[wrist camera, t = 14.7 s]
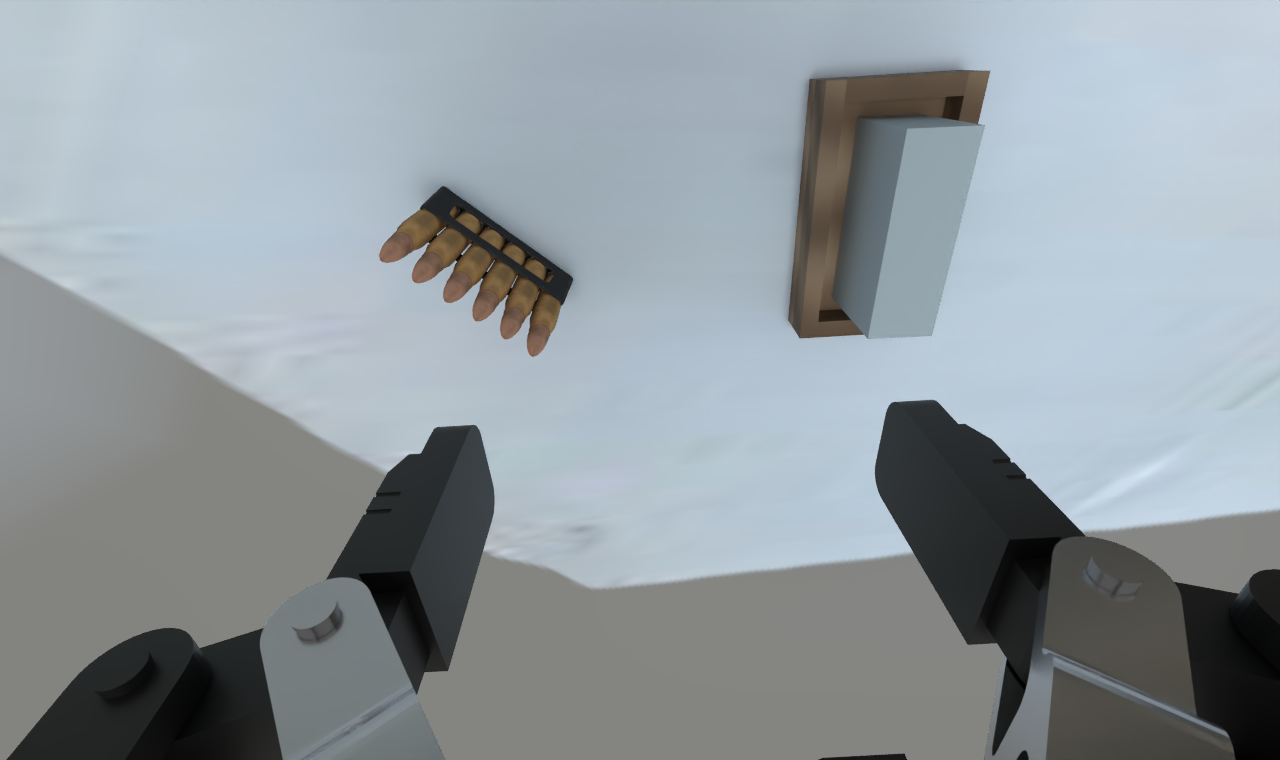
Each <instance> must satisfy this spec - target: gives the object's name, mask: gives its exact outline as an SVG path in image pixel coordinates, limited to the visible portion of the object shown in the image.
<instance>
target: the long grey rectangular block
mask: <svg viewBox="0 0 1280 760" xmlns="http://www.w3.org/2000/svg"><path fill="white" fill-rule="evenodd" d="M984 126H985V125H980V124H974V123H969V122H963V121H957V120H952V119H946V118H940V117H934V116H929V115H923V114H915V115H893V116H870V117H857V124H856V131H855V138H854V145H853V152H852V159H851V166H850V173H849V179H848V186H847V193H846V200H845V207H844V214H843V221H842V228H841V235H840V241H839V248H838V255H837V262H836V269H835V276H834V283H833V290H832V299H833V300H834V301H835V302H836V303H837V304H838V305H839V307H840V308H841V309H842V310H843V311H844V312H845V313H846V314H847V316H848V317H849V318H850V319H851V320H852V321H853V322H854V324H855V325H856V326H857V327H858V328H859V329H860V330H861V332H862V333H863V334H864V335H865V336H866V337H867V338H868V339H874V338H896V337H918V336H932V333H933V329H934V325H935V321H936V317H937V313H938V309H939V305H940V301H941V297H942V293H943V289H944V285H945V281H946V277H947V273H948V269H949V265H950V261H951V257H952V253H953V249H954V245H955V241H956V238H957V234H958V230H959V226H960V222H961V218H962V214H963V210H964V206H965V202H966V198H967V194H968V190H969V186H970V182H971V178H972V174H973V170H974V166H975V162H976V158H977V154H978V150H979V146H980V142H981V138H982V134H983V130H984Z"/></svg>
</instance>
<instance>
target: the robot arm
mask: <svg viewBox="0 0 1280 760" xmlns="http://www.w3.org/2000/svg"><path fill="white" fill-rule="evenodd" d="M875 479H876V484H877V488H878V492H879V494H880V496H881V498H882V500H883V502H884V503H885V505H886V507H887V508H888V510H889V512H890V513H891V515H892V517H893V519H894V520H895V522H896V524H897V525H898V527H899V529H900V530H901V532H902V534H903V536H904V537H905V539H906V541H907V542H908V544H909V546H910V547H911V549H912V551H913V553H914V554H915V556H916V558H917V559H918V561H919V563H920V564H921V566H922V568H923V569H924V571H925V573H926V575H927V576H928V578H929V580H930V581H931V583H932V584H933V586H934V588H935V590H936V591H937V593H938V595H939V597H940V598H941V600H942V602H943V603H944V605H945V607H946V609H947V610H948V612H949V614H950V615H951V617H952V618H953V620H954V622H955V624H956V625H957V627H958V629H959V631H960V632H961V634H962V636H963V637H964V639H965V641H966V643H967V644H968V645H971V644H989V643H997V644H998V645H999V647H1000V648H1001V650H1002V651H1003V653H1004V655H1005V656H1004V658H1003V661H1002V663H1001V666H1000V669H999V674H998V680H997V686H996V692H995V698H994V703H993V709H992V715H991V721H990V726H989V733H988V738H987V744H986V749H985V755H984V760H1280V570H1277V569H1272V570H1263V571H1260V572H1258V573H1256V574H1254V575H1253V576H1252V577H1251V578H1250V580H1249V581H1248V582H1247V584H1246V585H1245V587H1244V588H1243V589H1242V591H1241V592H1240V593H1239V594H1237V593H1231V592H1226V591H1221V590H1215V589H1210V588H1204V587H1199V586H1193V585H1188V584H1183V583H1177V582H1174V581H1173V580H1172V579H1171V578H1170V576H1168V575H1167V573H1166V572H1165V571H1164V570H1163V569H1161V568H1160V567H1159V566H1158V565H1156V564H1155V563H1154V562H1152V561H1151V560H1149V559H1148V558H1146V557H1145V556H1143V555H1141V554H1139V553H1138V552H1136V551H1134V550H1132V549H1130V548H1127V547H1125V546H1123V545H1120V544H1117V543H1115V542H1112V541H1108V540H1104V539H1100V538H1095V537H1086V536H1085V535H1084V534H1083V533H1082V532H1081V531H1080V530H1079V529H1078V528H1077V527H1076V526H1075V525H1074V524H1073V523H1072V521H1071V520H1070V519H1069V518H1068V517H1067V516H1066V515H1065V514H1064V513H1063V512H1062V511H1061V510H1060V509H1059V508H1058V507H1057V506H1056V505H1055V504H1054V503H1053V502H1052V501H1051V500H1050V499H1049V498H1048V497H1047V496H1046V495H1045V494H1044V493H1043V492H1042V491H1041V490H1040V489H1039V488H1038V487H1037V486H1036V484H1035V483H1034V482H1033V481H1032V480H1031V479H1026V474H1025V473H1024V472H1023V471H1022V470H1021V469H1020V468H1019V467H1018V466H1017V465H1016V464H1015V463H1014V462H1013V463H1011V461H1010V458H1009V457H1008V456H1007V455H1006V454H1005V453H1004V452H1003V451H1002V450H1001V448H1000V447H999V446H998V445H997V444H996V443H995V442H994V441H993V440H992V439H990V438H988V437H987V436H985V435H983V434H981V433H980V432H978V431H976V430H975V429H973V428H971V427H969V426H968V425H966V424H958V423H957V422H956V421H955V420H954V419H953V418H952V417H951V416H950V415H949V414H948V413H947V411H946V410H945V409H944V408H943V407H942V406H941V405H940V404H939V403H938V402H937V401H935V400H922V401H905V402H893V403H891V404H890V405H889V407H888V409H887V412H886V416H885V421H884V426H883V431H882V435H881V440H880V445H879V450H878V455H877V460H876V465H875ZM366 512H367V513H366V515H363V517H362V519H361V520H360V522H359V524H358V526H357V527H356V529H355V531H354V532H353V534H352V536H351V538H350V539H349V541H348V543H347V544H346V546H345V548H344V550H343V551H342V553H341V555H340V556H339V558H338V560H337V562H336V563H335V565H334V567H333V569H332V570H331V572H330V574H329V576H328V577H327V579H326V580H324V581H321V582H318V583H315V584H313V585H311V586H309V587H306V588H305V589H303V590H301V591H299V592H298V593H296V594H295V595H293V596H292V597H290V598H289V599H288V600H287V601H285V602H284V603H283V604H282V605H281V606H280V607H279V608H278V609H277V610H276V611H275V612H274V613H273V615H272V616H271V617H270V618H269V620H268V621H267V623H266V625H265V626H264V628H262V629H259V630H257V631H253V632H250V633H247V634H244V635H240V636H237V637H234V638H231V639H228V640H225V641H221V642H218V643H215V644H212V645H209V646H206V647H202V648H199V647H198V645H197V644H196V643H195V641H194V640H193V639H192V637H191V636H190V635H189V634H188V633H187V632H186V631H183V630H181V629H175V628H163V629H157V630H152V631H149V632H145V633H142V634H140V635H137V636H135V637H132V638H130V639H128V640H126V641H124V642H122V643H120V644H118V645H117V646H115V647H113V648H112V649H110V650H108V651H107V652H105V653H104V654H102V655H101V656H99V657H98V658H97V659H96V660H94V661H93V662H92V663H90V664H89V665H88V666H87V667H86V668H85V669H84V670H83V671H82V672H80V673H79V674H78V675H77V677H76V678H75V679H74V680H73V681H72V682H71V683H70V684H69V686H68V687H67V688H66V689H65V690H64V691H63V693H62V694H61V695H60V696H59V697H58V699H57V700H56V701H55V702H54V704H53V705H52V706H51V707H50V708H49V709H48V711H47V712H46V713H45V714H44V715H43V717H42V718H41V719H40V720H39V721H38V723H37V724H36V725H35V726H34V728H33V729H32V730H31V731H30V732H29V734H28V735H27V736H26V737H25V738H24V740H23V741H22V742H21V743H20V744H19V745H18V747H17V748H16V749H15V750H14V752H13V753H12V754H11V755H10V756H9V757H8V759H7V760H445V758H444V755H443V753H442V751H441V749H440V746H439V744H438V742H437V740H436V738H435V735H434V733H433V731H432V728H431V726H430V724H429V722H428V720H427V717H426V715H425V713H424V711H423V709H422V706H421V704H420V702H419V699H418V697H417V692H418V690H419V686H420V683H421V680H422V677H423V674H424V672H436V671H448V669H449V666H450V662H451V659H452V655H453V652H454V649H455V645H456V642H457V638H458V635H459V631H460V628H461V624H462V621H463V618H464V614H465V611H466V607H467V604H468V600H469V597H470V594H471V590H472V587H473V583H474V580H475V576H476V573H477V569H478V566H479V563H480V559H481V556H482V552H483V549H484V545H485V542H486V539H487V535H488V532H489V528H490V525H491V521H492V518H493V513H494V488H493V483H492V479H491V474H490V470H489V466H488V462H487V458H486V454H485V450H484V446H483V442H482V438H481V434H480V431H479V429H478V427H477V426H476V425H467V426H449V427H437V428H435V429H434V430H433V432H432V434H431V435H430V437H429V439H428V441H427V443H426V445H425V447H424V449H423V451H422V453H421V454H409V455H408V456H407V457H405V458H404V459H403V460H402V461H401V462H400V463H398V464H397V465H396V466H395V467H394V468H393V469H392V470H390V471H389V472H388V473H387V475H386V477H385V479H384V481H383V482H382V484H381V486H380V488H379V489H378V491H377V492H376V497H374V498H373V499H372V501H371V503H370V505H369V506H368V508H367V510H366ZM819 760H907V759H906V756H905V754H889V755H870V756H851V757H833V758H822V759H819Z"/></svg>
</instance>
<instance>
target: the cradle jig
mask: <svg viewBox="0 0 1280 760" xmlns="http://www.w3.org/2000/svg"><path fill="white" fill-rule="evenodd" d="M989 74H990V71H973V70H956V71H939V72H923V73H907V74H890V75H874V76H857V77H841V78H824V79H810V86H809V97H808V108H807V119H806V130H805V141H804V152H803V163H802V175H801V186H800V197H799V208H798V219H797V230H796V241H795V252H794V263H793V275H792V286H791V297H790V308H789V319H788V320H789V322H790V324H791V325H792V327H793V328H794V330H795V332H796V333H797V335H798V336H799V338H813V337H830V336H847V335H864V334H863V333H862V332H861V330H860V329H859V328H858V327H857V326H856V325H855V324H854V322H853V321H852V320H851V319H850V318H849V317H848V316H847V314H846V313H845V312H844V311H843V310H842V309H841V308H840V307H839V305H838V304H837V303H836V302H835V301H834V300H833V299H832V290H833V283H834V276H835V269H836V262H837V255H838V248H839V241H840V235H841V228H842V221H843V214H844V207H845V200H846V193H847V186H848V179H849V173H850V166H851V159H852V152H853V145H854V138H855V131H856V124H857V117H870V116H893V115H915V114H923V115H929V116H934V117H940V118H946V119H952V120H957V121H963V122H969V123H974V124H978V121H979V117H980V113H981V108H982V104H983V100H984V96H985V91H986V87H987V83H988V78H989Z"/></svg>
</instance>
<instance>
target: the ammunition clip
mask: <svg viewBox="0 0 1280 760" xmlns="http://www.w3.org/2000/svg"><path fill="white" fill-rule="evenodd" d="M444 227H446V228H445V229H444V230H443V231H442V232H441V233H440V234H439V235H438V236H437V234H438V233H439V232H440V231H441V230H442V229H443V228H444ZM427 242H429V243H430V244H429V245H428V246H427V248H426V251H425V253H424V254H423V255H422V257H421V258H420V259H419V260H418V262H417V263H416V265H415V267H414V269H413V273H412V279H413V281H414V282H415V283H423V282H426V281H428V280H430V279H432V278H433V277H435V276H436V275H437V274H438V273H439V272H441V271H442V270H443V269H444V268H446V267H448V266H450V265H451V264H452V263H453V262H454V261H455V260H456V261H457V263H456V264H455V267H454V270H453V273H452V274H451V276H450V278H449V279H448V281H447V283H446V285H445V288H444V292H443V298H444V300H445V302H447V303H452V302H454V301H457V300H459V299H460V298H462V297H463V296H464V295H465V294H466V293H467V292H468V290H469V289H470V288H471V287H472V286H474V285H475V284H477V283H478V282H479V281H480V280H481V278H483V280H482V283H481V285H480V291H479V293H478V295H477V297H476V299H475V302H474V305H473V318H474V320H475V321H482V320H484V319H486V318H487V317H488V316H489V315H490V314H491V313H492V312H493V311H494V310H495V308H496V307H497V306H498V304H499V303H500V302H501V301H502V300H503V299H504V298H505V297H506V295H508V298H507V300H506V303H505V311H504V315H503V317H502V320H501V325H500V331H501V335H502V337H503V338H504V339H509V338H511V337H513V336H514V335H515V334H516V333H517V332H518V331H519V329H520V328H521V326H522V323H523V322H524V320H525V318H526V317H527V316H528V315H529V314H530V313H531V311H532V314H531V317H530V328H529V333H528V338H527V349H528V352H529V354H530V355H531V356H532V357H534V356H537V355H538V354H539V353H540V352H541V351H542V350H543V349H544V347H545V345H546V343H547V341H548V338H549V336H550V334H551V332H552V331H553V330H554V328H555V326H556V323H557V319H558V315H559V312H560V308H561V305H563V303H564V301H565V299H566V296H567V294H568V291H569V289H570V286H571V284H572V281H573V278H572V277H571V276H570V275H569V274H567V273H566V272H564V271H563V270H562V269H560V268H559V267H557V266H556V265H555V264H553V263H552V262H550V261H549V260H547V259H546V258H545V257H543V256H542V255H540V254H539V253H538V252H536V251H535V250H533V249H532V248H531V247H529V246H528V245H526V244H525V243H523V242H522V241H521V240H519V239H518V238H516V237H515V236H514V235H512V234H511V233H509V232H508V231H507V230H505V229H504V228H502V227H501V226H500V225H498V224H497V223H495V222H494V221H492V220H491V219H490V218H488V217H487V216H485V215H484V214H483V213H481V212H480V211H478V210H477V209H476V208H474V207H473V206H471V205H470V204H468V203H467V202H466V201H464V200H463V199H461V198H460V197H459V196H457V195H456V194H454V193H453V192H452V191H450V190H449V189H447V188H446V187H444V186H443V187H441V188H440V189H439V190H438V191H437V192H436V193H435V194H434V195H433V196H431V197H430V198H429V199H428V200H427V201H426V202H425V203H424V204H423V205H422V206H421V208H420V210H419V211H417V212H416V213H415V214H413V215H412V216H411V217H409V218H408V219H407V220H405V221H404V222H403V223H402V224H401V225H400V226H399V227H398V229H397V231H396V232H395V233H394V234H393V235H392V236H391V237H390V238H389V239H388V240H387V241H386V242H385V243H384V245H383V246H382V248H381V251H380V254H379V257H380V260H381V261H382V262H386V263H388V262H394V261H397V260H399V259H401V258H403V257H405V256H406V255H408V254H409V253H411V252H412V251H414V250H417V249H419V248H421V247H423V246H424V245H425V244H426V243H427ZM470 243H471V244H472V245H471V246H470V247H469V248H468V250H467V251H466V252H465V253H464V254H463V255H461V253H462V252H463V251H464V250H465V249H466V247H467V246H468V245H469V244H470ZM494 260H495V262H494V263H493V265H492V266H491V268H490V269H489V271H488V272H487V270H488V268H489V267H490V265H491V264H492V262H493V261H494ZM517 275H518V277H517V279H516V281H515V283H514V285H513V287H512V288H511V286H512V284H513V282H514V280H515V278H516V276H517ZM539 291H540V292H539ZM538 293H539V294H538ZM537 295H538V297H537ZM536 298H537V299H536Z"/></svg>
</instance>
